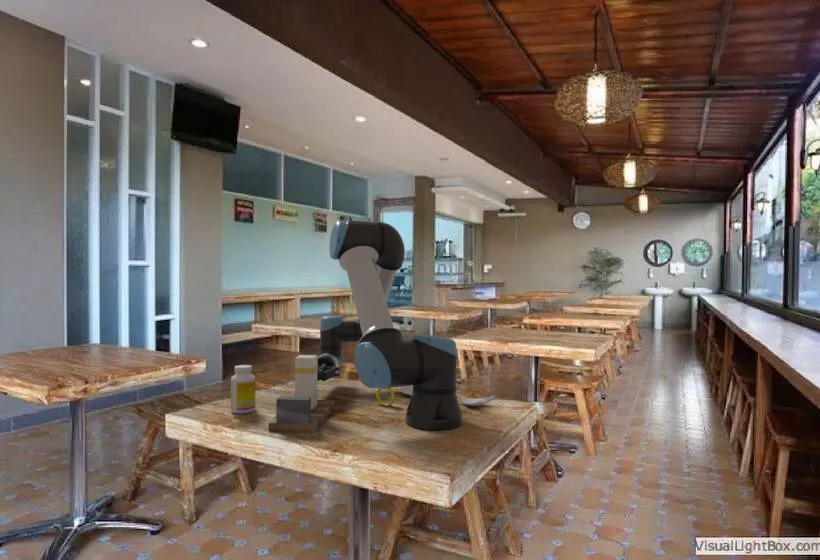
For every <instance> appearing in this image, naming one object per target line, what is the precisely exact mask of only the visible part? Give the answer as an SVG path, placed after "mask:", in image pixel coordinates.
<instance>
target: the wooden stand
mask: <svg viewBox="0 0 820 560" xmlns="http://www.w3.org/2000/svg"><path fill="white" fill-rule="evenodd" d="M275 404H276V406H275V407H276V411H275V412H276V415H275V417H273V418H272V419H271V420H270V421H269V422H268V425H267V426H268V427H267V428H268V432H293V433H294V432H297V433H298V432H299V433H302V432H304V433H317V431H318V430H319V428H321V426H322V425H323V423H324V422H325V421H326V419H327V418H328V417H329V415H330V414H331V413H332V412H333V410H334V408H335V405H336V402H335V400H334V399H329V400H328V399H317V406H316V407H315V408H314V409H313V410H311V397H295V396H281V395H279V396H278V398H276V403H275Z"/></svg>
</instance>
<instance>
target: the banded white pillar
mask: <svg viewBox="0 0 820 560" xmlns="http://www.w3.org/2000/svg"><path fill="white" fill-rule="evenodd" d="M318 357H319V355H317V354H299V355H298V356H296V357H295V358H294V397H311V410H313V409H314V408H315V407H316V406H317V400H318V382H317V371H318Z"/></svg>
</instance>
